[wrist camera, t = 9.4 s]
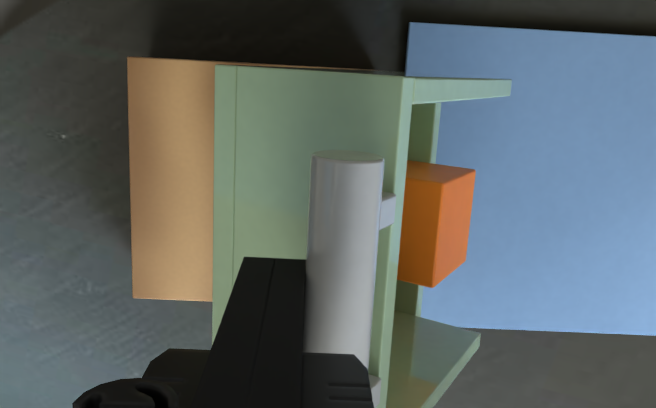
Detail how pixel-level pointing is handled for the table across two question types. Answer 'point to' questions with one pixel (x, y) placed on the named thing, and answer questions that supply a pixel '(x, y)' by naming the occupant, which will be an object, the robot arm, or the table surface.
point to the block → (434, 222)
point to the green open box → (338, 209)
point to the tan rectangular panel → (173, 175)
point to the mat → (549, 178)
